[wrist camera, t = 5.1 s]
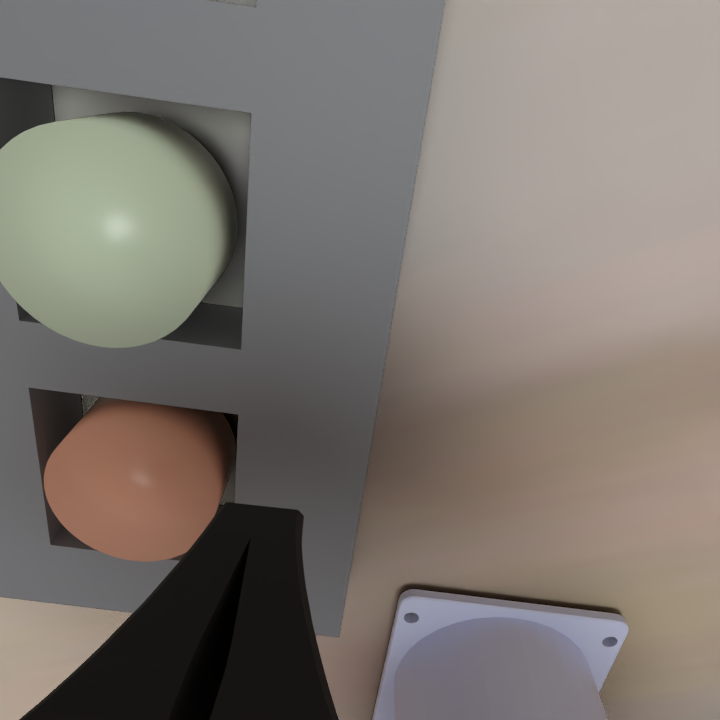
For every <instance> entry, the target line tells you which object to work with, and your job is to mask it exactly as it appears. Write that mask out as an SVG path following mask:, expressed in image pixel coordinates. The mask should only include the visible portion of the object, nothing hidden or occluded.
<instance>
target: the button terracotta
mask: <svg viewBox="0 0 720 720" xmlns="http://www.w3.org/2000/svg"><path fill="white" fill-rule="evenodd" d="M235 456H236V444H235V439H234V435H233V432H232V429H231V427H230V425H229V423H228V421H227V419H226V418H225V417H224V415H223V414H222V412H215V411H207V410H199V409H192V408H184V407H176V406H168V405H160V404H153V403H145V402H137V401H129V400H122V399H114V398H106V397H100V398H99V399H98V400H97V401H96V402H95V404H94V405H93V406H92V407H91V408H90V409H89V410H88V412H87V413H86V414H85V415H84V416H83V417H82V419H81V420H80V421H79V422H78V423H77V424H76V426H75V427H74V428H73V429H72V430H71V431H70V432H69V434H68V435H67V436H66V437H65V438H64V439H63V441H62V442H61V443H60V444H59V445H58V446H57V448H56V449H55V450H54V451H53V453H52V454H51V456H50V458H49V460H48V462H47V464H46V468H45V472H44V489H45V494H46V497H47V500H48V503H49V505H50V507H51V509H52V511H53V513H54V514H55V516H56V517H57V518H58V520H59V521H60V522H61V524H62V525H63V526H64V527H65V528H66V529H67V530H68V531H69V532H70V533H71V534H73V535H74V536H75V537H76V538H78V539H79V540H80V541H82V542H83V543H85V544H86V545H88V546H90V547H92V548H93V549H96V550H98V551H100V552H102V553H105V554H107V555H110V556H113V557H117V558H121V559H125V560H131V561H142V562H148V561H160V560H166V559H170V558H174V557H177V556H179V555H182V554H184V553H186V552H187V551H188V550H189V549H190V548H191V546H192V545H193V544H194V543H195V541H196V540H197V539H198V538H199V536H200V535H201V534H202V532H203V531H204V530H205V528H206V527H207V526H208V524H209V523H210V522H211V520H212V519H213V518H214V516H215V514H216V511H217V508H218V506H219V503H220V500H221V498H222V495H223V492H224V490H225V487H226V485H227V482H228V479H229V477H230V474H231V471H232V469H233V465H234V462H235Z"/></svg>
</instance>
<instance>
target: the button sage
mask: <svg viewBox="0 0 720 720" xmlns="http://www.w3.org/2000/svg"><path fill="white" fill-rule="evenodd" d="M237 229H238V226H237V212H236V205H235V201H234V197H233V194H232V191H231V188H230V186H229V183H228V181H227V179H226V177H225V175H224V173H223V172H222V170H221V168H220V166H219V165H218V163H217V162H216V161H215V159H214V158H213V157H212V155H211V154H210V153H209V152H208V151H207V150H206V149H205V148H204V147H203V145H202V144H201V143H199V142H198V141H197V140H196V139H195V138H193V137H192V136H191V135H190V134H188V133H187V132H185V131H184V130H182V129H181V128H179V127H178V126H176V125H174V124H172V123H170V122H168V121H166V120H163V119H160V118H157V117H155V116H151V115H147V114H142V113H134V112H116V113H108V114H101V115H95V116H89V117H82V118H76V119H70V120H64V121H57V122H52V123H47V124H43V125H39V126H36V127H34V128H31V129H29V130H26V131H24V132H22V133H21V134H19V135H17V136H16V137H14V138H13V139H11V140H10V141H9V142H8V143H7V144H6V145H5V146H3V147H2V148H1V149H0V282H1V283H2V285H3V286H4V287H5V289H6V290H7V291H8V292H9V294H10V295H11V296H12V297H13V299H14V300H15V301H16V302H17V303H18V304H19V305H20V306H21V307H22V308H23V309H24V310H25V311H27V312H28V313H29V314H30V315H31V316H33V317H34V318H35V319H36V320H38V321H39V322H41V323H42V324H44V325H45V326H47V327H48V328H50V329H52V330H54V331H55V332H57V333H59V334H61V335H63V336H66V337H68V338H70V339H73V340H75V341H78V342H82V343H85V344H88V345H94V346H99V347H108V348H128V347H135V346H140V345H144V344H147V343H151V342H154V341H156V340H158V339H160V338H162V337H164V336H166V335H168V334H169V333H171V332H172V331H174V330H175V329H177V328H178V327H179V326H180V325H181V324H182V323H183V322H184V321H185V320H186V319H187V318H188V317H189V315H190V314H191V313H192V312H193V310H194V309H195V308H196V307H197V305H198V304H199V303H200V302H201V300H202V299H203V298H204V296H205V295H206V294H207V293H208V291H209V290H210V289H211V288H212V286H213V285H214V284H215V282H216V281H217V280H218V279H219V277H220V276H221V275H222V274H223V272H224V271H225V269H226V267H227V265H228V264H229V262H230V259H231V257H232V254H233V252H234V248H235V244H236V239H237Z"/></svg>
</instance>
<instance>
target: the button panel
mask: <svg viewBox="0 0 720 720" xmlns="http://www.w3.org/2000/svg"><path fill="white" fill-rule="evenodd" d="M444 5H445V0H256V7H250V6H243V5H237V4H230V3H223V2H216V1H209V0H0V149H1V148H2V147H3V146H5V145H6V144H7V143H8V142H9V141H10V140H11V139H13V138H14V137H16V136H17V135H19V134H21V133H22V132H24V131H26V130H29V129H31V128H34V127H36V126H39V125H43V124H47V123H52V122H54V111H53V101H52V90H51V85H58V86H65V87H72V88H79V89H86V90H93V91H100V92H107V93H114V94H121V95H128V96H135V97H142V98H149V99H156V100H163V101H170V102H177V103H185V104H192V105H199V106H206V107H213V108H220V109H227V110H234V111H241V112H248V113H251V133H250V156H249V179H248V202H247V225H246V248H245V271H244V294H243V308H235V307H228V306H220V305H213V304H205V303H199V304H198V305H197V307H196V308H195V309H194V310H193V312H192V313H191V314H190V315H189V317H188V318H187V319H186V320H185V321H184V322H183V323H182V324H181V325H180V326H179V327H178V328H177V329H175V330H174V331H172V332H171V333H169V334H168V335H166V336H164V337H162V338H160V339H158V340H156V341H154V342H151V343H147V344H144V345H140V346H135V347H128V348H108V347H99V346H94V345H88V344H85V343H82V342H78V341H75V340H73V339H70V338H68V337H66V336H63V335H61V334H59V333H57V332H55V331H54V330H52V329H50V328H48V327H47V326H45V325H44V324H42V323H41V322H39V321H38V320H36V319H35V318H34V317H33V316H31V315H30V314H29V313H28V312H27V311H25V310H24V309H23V308H22V307H21V306H20V305H19V304H18V303H17V302H16V301H15V300H14V299H13V297H12V296H11V295H10V294H9V292H8V291H7V290H6V289H5V287H4V286H3V285H2V283H1V282H0V597H4V598H13V599H21V600H29V601H38V602H46V603H55V604H63V605H71V606H80V607H88V608H96V609H105V610H113V611H122V612H130V613H134V612H135V611H136V610H137V608H138V607H139V606H140V605H141V604H142V603H143V602H144V601H145V600H146V599H147V598H148V597H149V596H150V595H151V593H152V592H153V591H154V590H155V589H156V588H157V587H158V585H159V584H160V583H161V582H162V581H163V580H164V578H165V577H166V576H167V575H168V574H169V573H170V572H171V570H172V569H173V568H174V567H175V566H176V565H177V564H178V562H179V561H180V560H181V559H182V558H183V556H184V555H185V554H186V553H187V552H186V553H184V554H182V555H179V556H177V557H174V558H170V559H166V560H160V561H148V562H142V561H131V560H125V559H121V558H117V557H113V556H110V555H107V554H105V553H102V552H100V551H98V550H96V549H93V548H92V547H90V546H88V545H86V544H85V543H83V542H82V541H80V540H79V539H78V538H76V537H75V536H74V535H73V534H71V533H70V532H69V531H68V530H67V529H66V528H65V527H64V526H63V525H62V524H61V522H60V521H59V520H58V518H57V517H56V516H55V514H54V513H53V511H52V509H51V507H50V505H49V503H48V500H47V497H46V494H45V489H44V472H45V468H46V464H47V462H48V460H49V458H50V456H51V454H52V453H53V451H54V450H55V449H56V448H57V446H58V445H59V444H60V443H61V442H62V441H63V439H64V438H65V437H66V436H67V435H68V434H69V432H70V431H71V430H72V429H73V428H74V427H75V426H76V424H77V423H78V422H79V421H80V420H81V419H82V417H83V415H82V404H81V394H83V395H90V396H98V397H106V398H114V399H122V400H129V401H137V402H145V403H153V404H160V405H168V406H176V407H184V408H192V409H199V410H207V411H215V412H223V413H230V414H238V433H237V456H236V479H235V502H234V503H239V504H248V505H258V506H267V507H276V508H286V509H295V510H299V511H300V512H301V513H302V514H303V516H304V521H303V534H302V556H303V567H304V576H305V583H306V590H307V595H308V601H309V606H310V612H311V618H312V623H313V627H314V632H315V635H323V636H331V637H339V636H340V630H341V624H342V618H343V612H344V606H345V600H346V594H347V588H348V582H349V576H350V570H351V564H352V558H353V552H354V546H355V540H356V534H357V528H358V522H359V516H360V510H361V504H362V498H363V492H364V486H365V480H366V473H367V467H368V461H369V455H370V449H371V443H372V437H373V431H374V425H375V419H376V413H377V407H378V401H379V395H380V389H381V383H382V377H383V371H384V365H385V359H386V353H387V347H388V341H389V335H390V329H391V323H392V317H393V311H394V305H395V299H396V293H397V287H398V281H399V275H400V269H401V263H402V257H403V251H404V245H405V239H406V233H407V227H408V221H409V215H410V209H411V203H412V197H413V191H414V185H415V179H416V173H417V167H418V161H419V155H420V149H421V143H422V137H423V131H424V125H425V119H426V113H427V107H428V101H429V95H430V89H431V83H432V77H433V71H434V65H435V59H436V53H437V47H438V41H439V35H440V29H441V23H442V17H443V11H444ZM220 508H221V505H219V506H218V508H217V511H216V513H217V512H218V510H219V509H220ZM215 515H216V514H215Z"/></svg>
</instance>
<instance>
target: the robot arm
mask: <svg viewBox="0 0 720 720" xmlns="http://www.w3.org/2000/svg"><path fill="white" fill-rule="evenodd" d="M303 521H304V516H303V514H302V513H301V512H300V511H299V510H295V509H286V508H276V507H267V506H258V505H248V504H239V503H230V502H227V503H226V504H224V505H223V506H221V508H220V509H219V510H218V512H217V513H216V515H215V516H214V518H213V519H212V520H211V522H210V523H209V524H208V526H207V527H206V528H205V530H204V531H203V532H202V534H201V535H200V536H199V538H198V539H197V540H196V541H195V543H194V544H193V545H192V546H191V548H190V549H189V550H188V551H187V553H186V554H185V555H184V556H183V558H182V559H181V560H180V561H179V562H178V564H177V565H176V566H175V567H174V568H173V569H172V570H171V572H170V573H169V574H168V575H167V576H166V577H165V578H164V580H163V581H162V582H161V583H160V584H159V585H158V587H157V588H156V589H155V590H154V591H153V592H152V593H151V595H150V596H149V597H148V598H147V599H146V600H145V601H144V602H143V603H142V604H141V605H140V606H139V607H138V608H137V610H136V611H135V612H134V613H133V614H132V615H131V616H130V617H129V618H128V619H127V620H126V621H125V622H124V623H123V624H122V625H121V626H120V627H119V628H118V629H117V630H116V631H115V632H114V633H113V634H112V635H111V636H110V638H109V639H108V640H107V641H106V642H105V643H104V644H103V645H102V646H101V647H100V648H98V649H97V650H96V651H95V652H94V653H93V654H92V655H91V656H90V657H89V658H88V659H87V660H86V661H85V662H84V663H83V664H82V665H81V666H80V667H79V668H78V669H76V670H75V671H74V672H73V673H72V674H71V675H70V676H69V677H68V678H67V679H66V680H64V681H63V682H62V683H61V684H60V685H59V686H58V687H57V688H56V689H54V690H53V691H52V692H51V693H50V694H49V695H48V696H47V697H45V698H44V699H43V700H42V701H41V702H40V703H39V704H37V705H36V706H35V707H34V708H33V709H31V710H30V711H29V712H28V713H27V714H25V715H24V716H23V717H22V718H21V719H20V720H339V719H338V716H337V713H336V710H335V707H334V704H333V701H332V697H331V694H330V690H329V687H328V683H327V680H326V676H325V673H324V669H323V665H322V661H321V657H320V653H319V649H318V645H317V641H316V636H315V632H314V627H313V623H312V618H311V612H310V606H309V601H308V595H307V590H306V583H305V576H304V567H303V556H302V534H303ZM408 613H414V614H408ZM628 631H629V628H628V626H627V623H626V621H625V619H624V617H622V616H621V615H619V614H615V613H607V612H598V611H590V610H582V609H574V608H566V607H557V606H549V605H541V604H533V603H524V602H516V601H508V600H500V599H492V598H483V597H475V596H467V595H459V594H451V593H442V592H434V591H426V590H418V589H410V590H407V591H404V592H403V593H402V594H401V595H400V597H399V601H398V605H397V610H396V614H395V618H394V623H393V627H392V632H391V636H390V641H389V645H388V650H387V654H386V659H385V663H384V668H383V672H382V677H381V681H380V686H379V690H378V695H377V699H376V704H375V708H374V713H373V717H372V720H608V719H607V716H606V713H605V710H604V707H603V704H602V701H601V699H600V696H599V692H600V690H601V688H602V685H603V683H604V681H605V679H606V677H607V675H608V673H609V671H610V669H611V667H612V665H613V663H614V661H615V659H616V657H617V655H618V652H619V650H620V648H621V646H622V644H623V642H624V640H625V638H626V636H627V634H628Z"/></svg>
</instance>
